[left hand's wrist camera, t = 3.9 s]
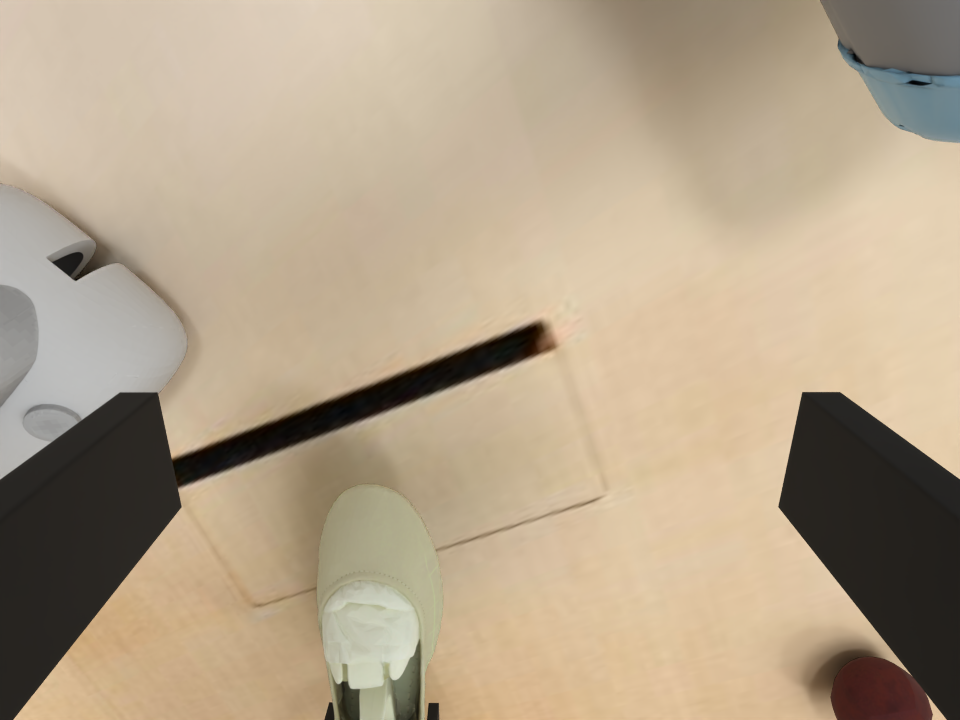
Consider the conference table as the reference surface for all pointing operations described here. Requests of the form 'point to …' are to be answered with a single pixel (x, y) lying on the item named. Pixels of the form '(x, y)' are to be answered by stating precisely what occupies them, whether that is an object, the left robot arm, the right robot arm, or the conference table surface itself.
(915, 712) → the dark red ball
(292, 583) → the conference table surface
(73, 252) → the projector
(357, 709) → the ballet flat
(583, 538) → the conference table surface
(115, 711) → the conference table surface
